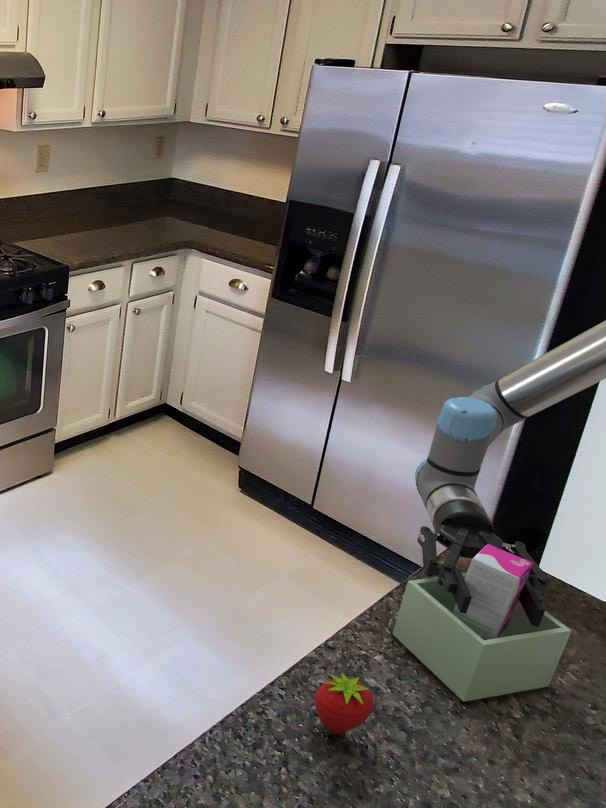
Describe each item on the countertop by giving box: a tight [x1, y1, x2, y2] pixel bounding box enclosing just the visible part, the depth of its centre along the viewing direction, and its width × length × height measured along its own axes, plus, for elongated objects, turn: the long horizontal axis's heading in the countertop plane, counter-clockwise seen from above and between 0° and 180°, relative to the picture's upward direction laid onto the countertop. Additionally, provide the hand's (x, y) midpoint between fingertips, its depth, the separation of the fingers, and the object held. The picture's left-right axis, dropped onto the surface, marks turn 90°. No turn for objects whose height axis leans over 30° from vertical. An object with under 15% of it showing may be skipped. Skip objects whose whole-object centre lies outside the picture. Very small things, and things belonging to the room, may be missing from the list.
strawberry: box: [314, 672, 374, 735], centre depth 100 cm, size 6×8×10 cm
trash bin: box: [392, 572, 572, 703], centre depth 112 cm, size 14×14×10 cm
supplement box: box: [452, 544, 533, 641], centre depth 109 cm, size 6×6×12 cm
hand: (501, 611), depth 104 cm, fingers closed on supplement box, 8 cm apart
